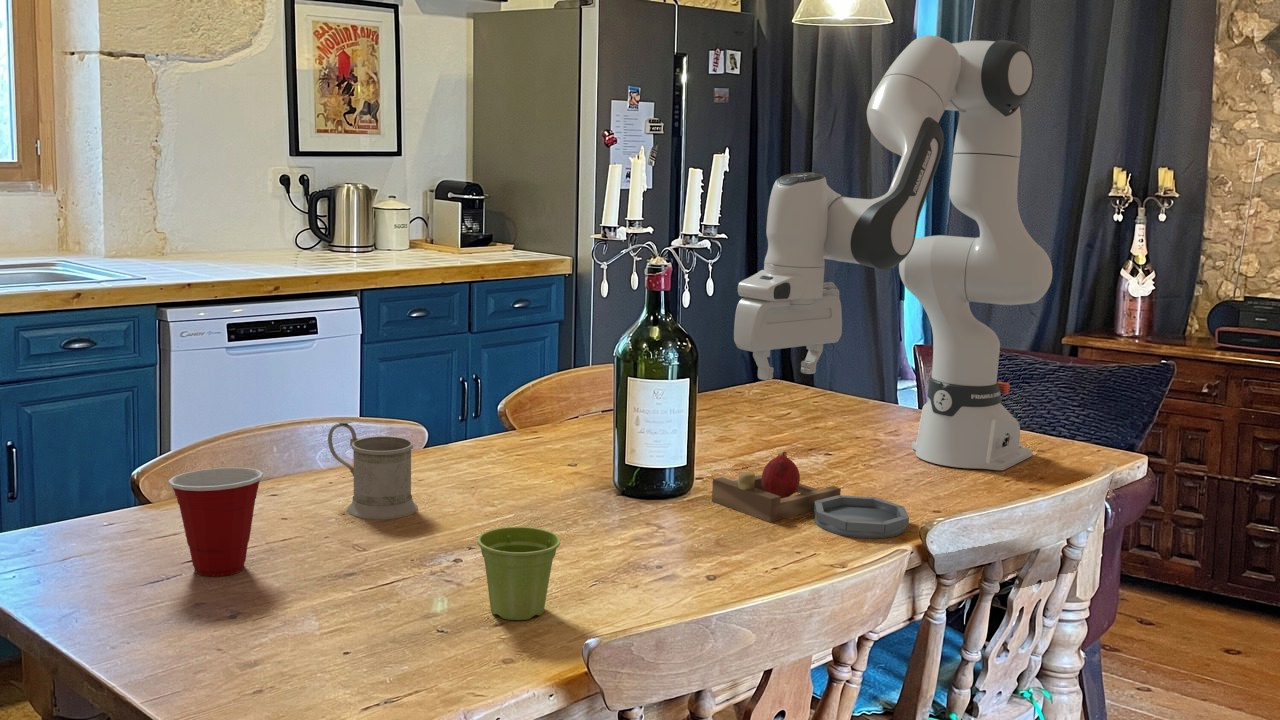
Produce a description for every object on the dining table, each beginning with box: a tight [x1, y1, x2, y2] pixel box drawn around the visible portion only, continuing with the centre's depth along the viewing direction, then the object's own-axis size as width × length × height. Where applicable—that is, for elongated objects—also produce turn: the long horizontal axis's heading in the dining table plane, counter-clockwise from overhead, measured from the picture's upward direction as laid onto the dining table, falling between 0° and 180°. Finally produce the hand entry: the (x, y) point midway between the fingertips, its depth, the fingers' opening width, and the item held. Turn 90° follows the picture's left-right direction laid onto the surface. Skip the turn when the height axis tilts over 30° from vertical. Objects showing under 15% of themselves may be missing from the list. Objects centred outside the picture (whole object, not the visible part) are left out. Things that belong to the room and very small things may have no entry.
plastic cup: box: [167, 467, 264, 577], centre depth 148 cm, size 11×11×12 cm
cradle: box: [711, 471, 842, 523], centre depth 184 cm, size 16×12×6 cm
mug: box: [327, 419, 418, 521], centre depth 174 cm, size 14×10×12 cm
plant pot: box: [476, 526, 561, 621], centre depth 139 cm, size 9×9×9 cm
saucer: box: [813, 494, 910, 540], centre depth 176 cm, size 13×13×2 cm
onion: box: [761, 450, 801, 498], centre depth 185 cm, size 6×6×8 cm
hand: (786, 376), depth 182 cm, fingers open, 8 cm apart
